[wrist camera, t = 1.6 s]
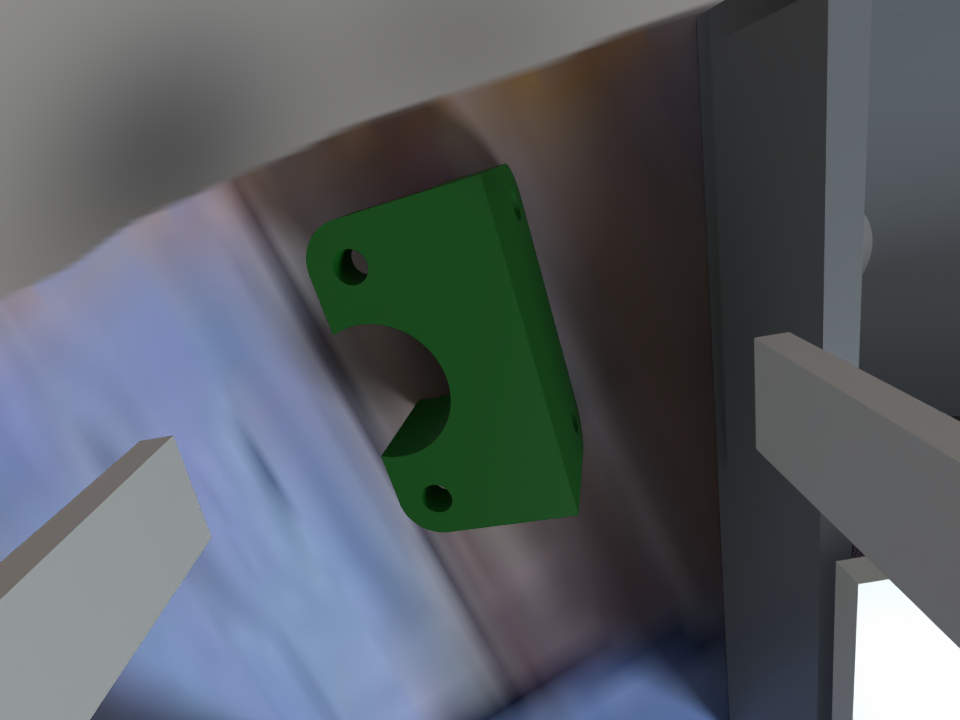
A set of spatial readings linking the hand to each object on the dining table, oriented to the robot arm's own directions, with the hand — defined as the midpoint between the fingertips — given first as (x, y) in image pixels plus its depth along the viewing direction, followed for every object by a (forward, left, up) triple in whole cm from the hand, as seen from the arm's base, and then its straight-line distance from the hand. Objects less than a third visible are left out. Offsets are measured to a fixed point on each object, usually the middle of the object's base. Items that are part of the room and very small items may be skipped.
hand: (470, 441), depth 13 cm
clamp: (0, 0, -11) cm, 11 cm away
